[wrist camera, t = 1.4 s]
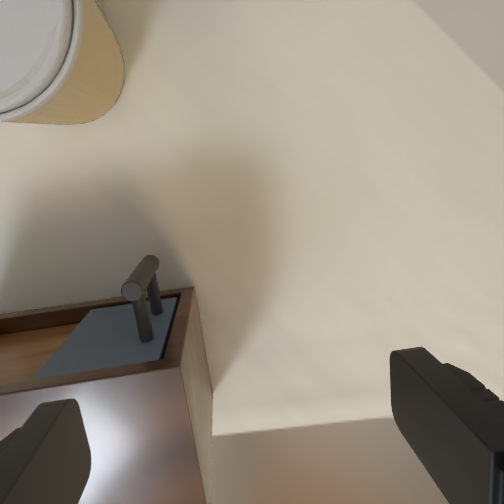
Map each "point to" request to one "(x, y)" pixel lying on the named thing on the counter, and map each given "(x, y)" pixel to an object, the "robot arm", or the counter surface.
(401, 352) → the robot arm
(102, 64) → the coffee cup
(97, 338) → the sliding lid with handle
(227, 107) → the counter surface
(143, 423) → the cupboard
